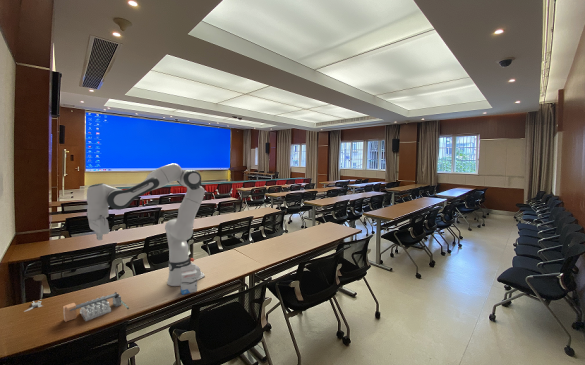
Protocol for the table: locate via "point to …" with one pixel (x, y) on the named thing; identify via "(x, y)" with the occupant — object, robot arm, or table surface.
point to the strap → (96, 301)
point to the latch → (69, 312)
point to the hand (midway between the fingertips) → (99, 239)
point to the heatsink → (98, 308)
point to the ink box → (188, 279)
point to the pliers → (35, 305)
